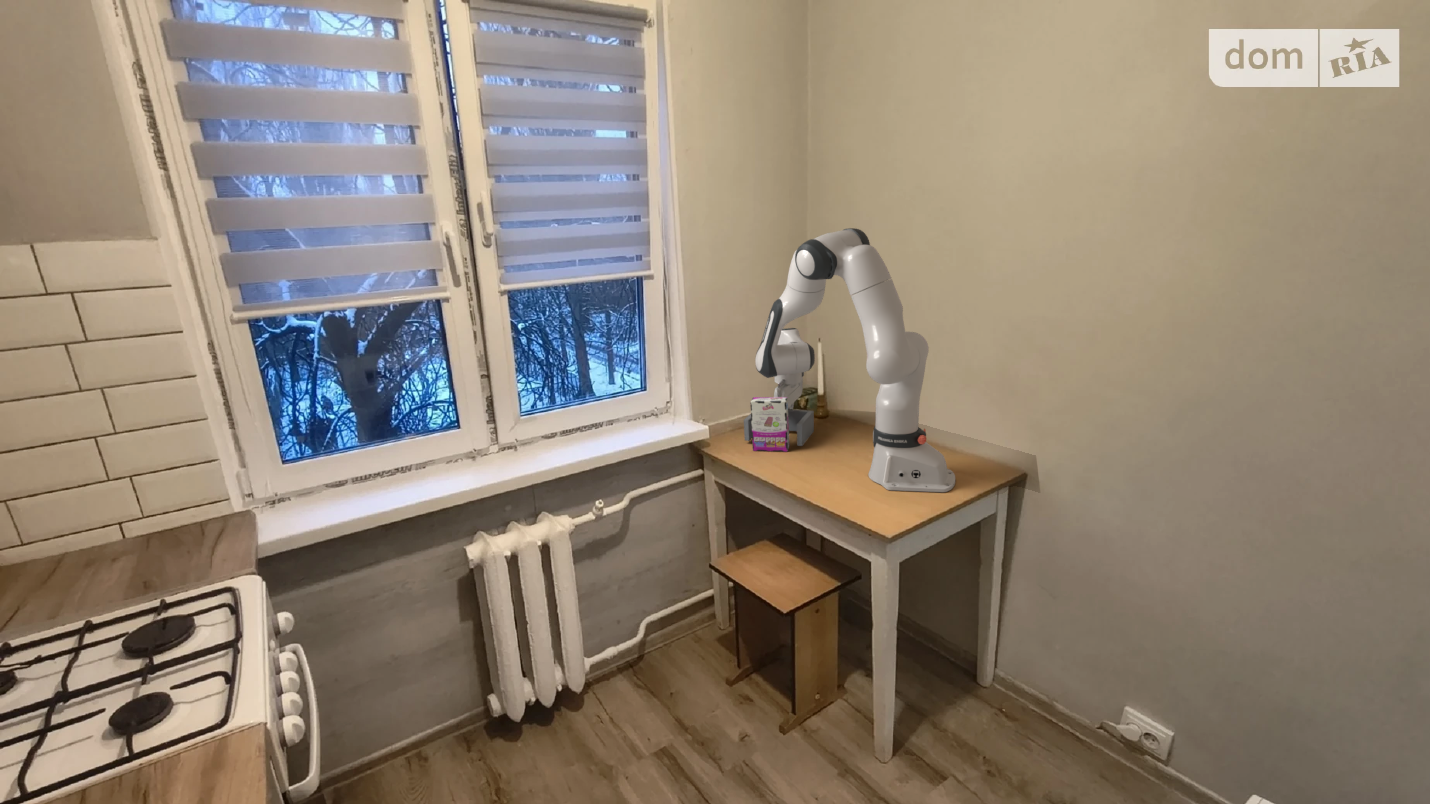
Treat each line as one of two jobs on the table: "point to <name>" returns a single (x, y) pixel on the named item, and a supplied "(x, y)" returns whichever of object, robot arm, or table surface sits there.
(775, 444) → the candy bar box
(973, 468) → the table surface
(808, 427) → the gray u-shaped holder
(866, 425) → the table surface
